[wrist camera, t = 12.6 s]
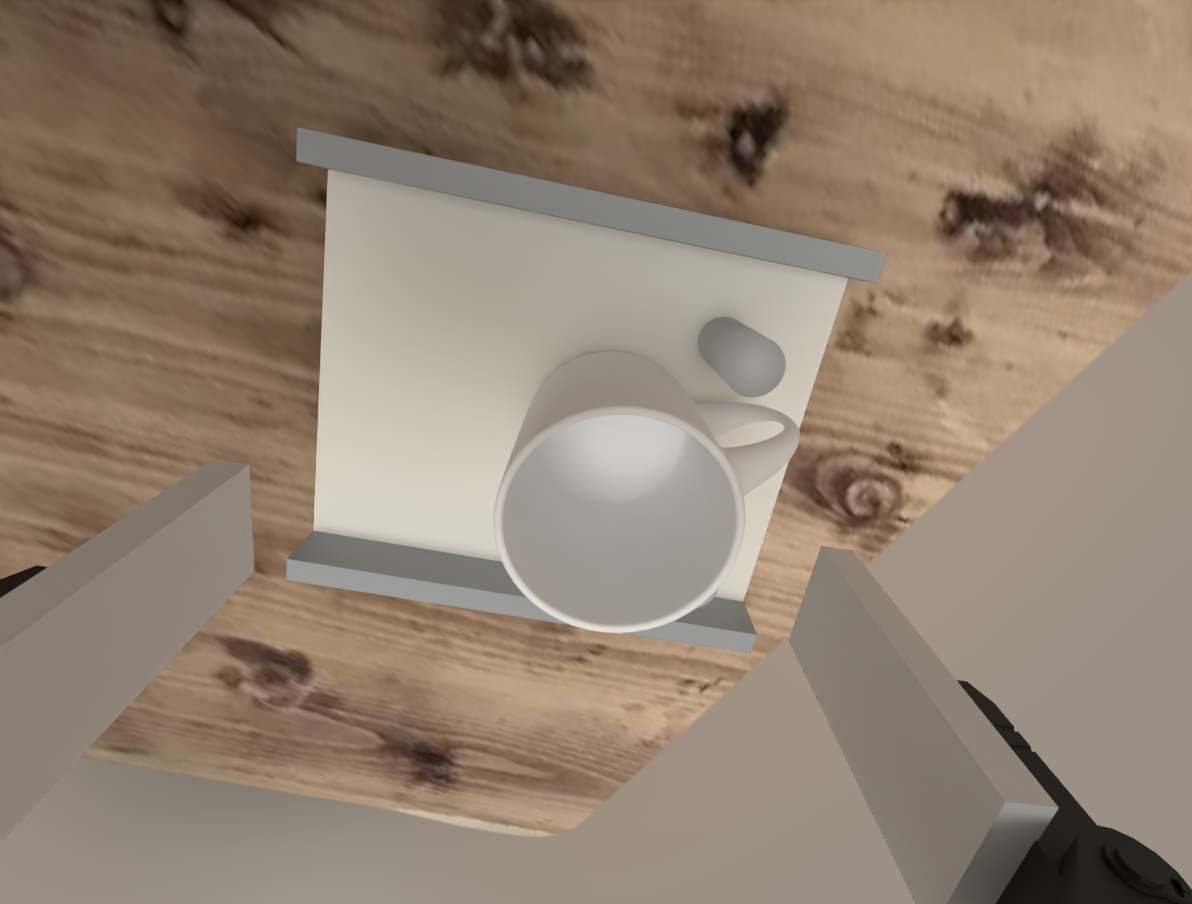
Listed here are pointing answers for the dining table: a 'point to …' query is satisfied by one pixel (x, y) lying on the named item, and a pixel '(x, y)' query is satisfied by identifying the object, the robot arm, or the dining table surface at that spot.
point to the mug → (628, 494)
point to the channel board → (528, 356)
